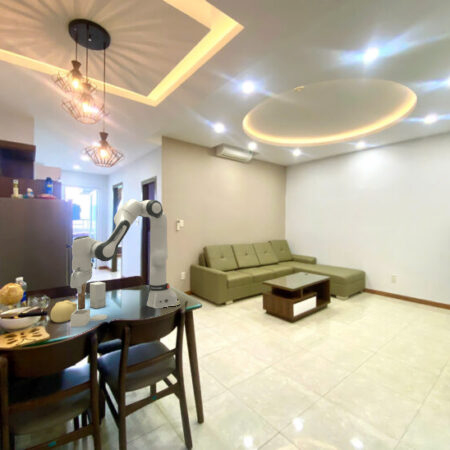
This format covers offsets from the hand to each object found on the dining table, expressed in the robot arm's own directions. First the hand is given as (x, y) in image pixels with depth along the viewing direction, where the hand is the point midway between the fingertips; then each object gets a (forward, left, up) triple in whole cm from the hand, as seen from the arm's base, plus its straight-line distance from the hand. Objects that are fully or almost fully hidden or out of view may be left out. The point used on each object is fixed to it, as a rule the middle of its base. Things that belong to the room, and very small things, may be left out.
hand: (81, 291), depth 130 cm
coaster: (-7, -7, -18) cm, 20 cm away
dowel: (0, 0, -9) cm, 9 cm away
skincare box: (0, -28, -18) cm, 34 cm away
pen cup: (0, 0, -18) cm, 18 cm away
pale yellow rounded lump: (+12, -8, -18) cm, 23 cm away
